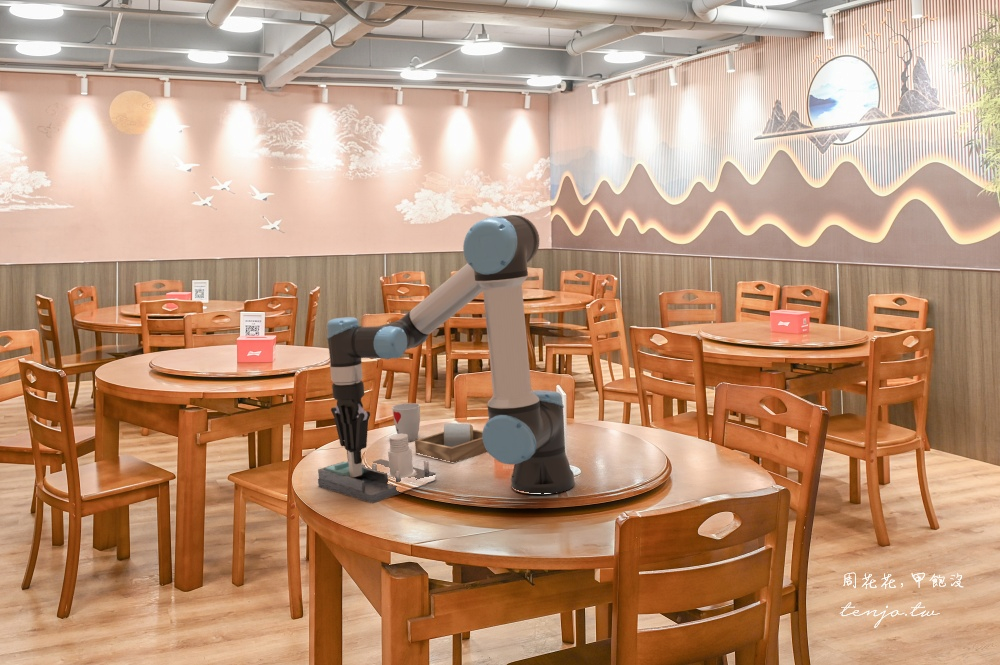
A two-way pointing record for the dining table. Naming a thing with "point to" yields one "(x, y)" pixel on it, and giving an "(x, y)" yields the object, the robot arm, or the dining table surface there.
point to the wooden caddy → (460, 452)
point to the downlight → (400, 456)
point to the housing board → (367, 482)
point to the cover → (341, 468)
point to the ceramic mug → (457, 434)
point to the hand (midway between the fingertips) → (356, 475)
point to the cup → (407, 419)
